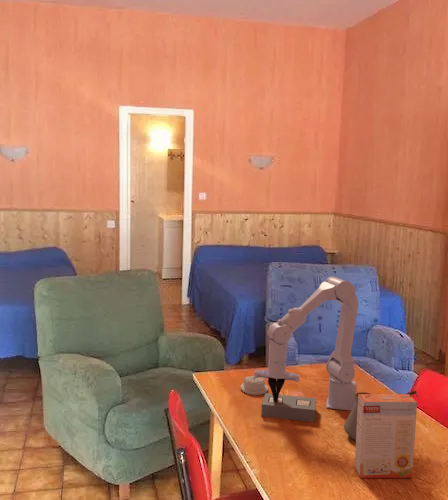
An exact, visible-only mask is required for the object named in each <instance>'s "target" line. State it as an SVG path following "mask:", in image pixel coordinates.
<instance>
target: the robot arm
mask: <svg viewBox="0 0 448 500" xmlns="http://www.w3.org/2000/svg"><path fill="white" fill-rule="evenodd" d="M326 301H327V302H328V301H336V302H338V303H339V305H340V311H339V313H340V314H339V318H338V319H339V320H338V326H337V332H336V338H335V339H336V340H335V346H334V350H333V351H332V352H331V353H330V356H329V360H327V362H326V365H325V368H326V372H327V373H328V376H329V377H328V393H327V396H328V397H327V398H326V409H335V410H344V411H350V412H351V411H352V409H353V407H354V405H355V403H356V398H355V396H354V395H355V394H356V393H357V385H358V384H357V381H355V380H354V379H355V376H356V370H355V360H354V358H353V356H352V349H353V343H354V335H355V329H356V322H357V317H358V316H357V315H358V310H359V309H358V308H359V300H358V296H357V294H356V287H355V286H354V285H353V284H352V282H351V281H349V280H344V279H341V278H340V277H339V278H338V277H337V276H334V275H332V276H329V277H328V278H326V280H324V281H323V282H321V283H320V285H319V287H318V289H316V290H315V291H314V292H313V294H311V295H310V296H309V297H308V298H307V299H306V300H305V301H304V303H303V304H301V305H300V307H292V308H289V309H288V310H287V313H285V315H284V316H282V317H281V318H278V320H277V322H273V323H271V324H270V326H269V327H268V329H267V330H266V334H267V337H268V338H269V346H268V365H267V366H268V367H267V368H268V369H265V370H264V369H263V370H259V369H255V370H254V375H253V376H254V378H258V377H261V378H264V379H267V383H268V387H269V389H270V391H271V394H272V395H273V401H278V396H279V395H280V392H281V391H282V388H283V386H284V384H285V381H293V382H297V383H299V381H300V374H299V373H293V372H288V371H287V355H288V354H287V351H288V348H287V347H288V342H289V341H290V340H291V336H292V334H293V333H294V332H295V331H296V330H297V329H298V328H300V327H301V326H302V325H303V324H304V323H305V322H306V321H307V317H308V315H309V314H311V312H313V311H314V310H315V309H317V308H318V307H319V306H320V305H322V304H323V303H324V302H326ZM353 380H354V381H353Z"/></svg>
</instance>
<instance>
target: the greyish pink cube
mask: <svg viewBox="0 0 448 500" xmlns="http://www.w3.org/2000/svg"><path fill="white" fill-rule="evenodd" d="M269 402H275V403H282V398H278V401H273V397H270V400H269Z"/></svg>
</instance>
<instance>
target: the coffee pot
mask: <svg viewBox="0 0 448 500" xmlns="http://www.w3.org/2000/svg"><path fill="white" fill-rule="evenodd" d="M358 394H371V393H370V392H364V391H362V392H361V391H359V392H356V394H355V395H354V396H355V398H356V403H355V405H354V407H353V409H352V411H351V410H350V412H349V415H347V418H346V420H345V421H344V424H343V429H344V431H345V433H346V434H347V435H348V436H349V438H350V439H352V440H353V441H355V442H356V430H357V410H358ZM406 394H409V395H410V396H411V395H415V396H416V397H417V398H419V394H418V393H417V390H413V391H411V392H409V391H408V392H407V393H406ZM411 397H412V396H411Z"/></svg>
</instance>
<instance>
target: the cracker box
mask: <svg viewBox="0 0 448 500" xmlns="http://www.w3.org/2000/svg"><path fill="white" fill-rule="evenodd" d="M417 406H418V402H417V401H416V400H415V398H414V397H413V396H410V395H409V394H407V393H401V394H399V393H398V394H397V393H396V394H395V393H391V394H390V393H389V394H388V393H386V394H385V393H384V394H383V393H379V394H378V393H377V394H376V393H375V394H374V393H370V394H358V410H357V430H356V441H355V453H354V456H355V457H354V469H355V471H356V473H357V475H358V477H359V478H360V479H413V472H414V471H413V470H414V457H415V444H416V443H415V441H416V428H417V427H416V425H417V412H418V411H417V409H418V407H417Z"/></svg>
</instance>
